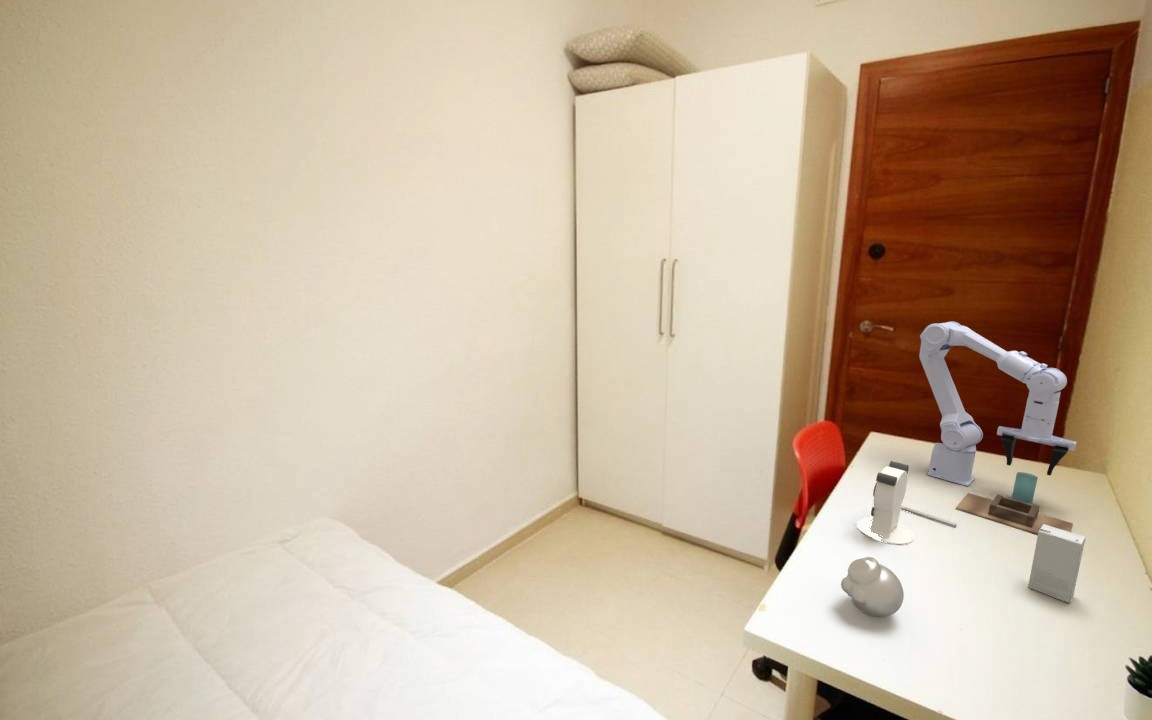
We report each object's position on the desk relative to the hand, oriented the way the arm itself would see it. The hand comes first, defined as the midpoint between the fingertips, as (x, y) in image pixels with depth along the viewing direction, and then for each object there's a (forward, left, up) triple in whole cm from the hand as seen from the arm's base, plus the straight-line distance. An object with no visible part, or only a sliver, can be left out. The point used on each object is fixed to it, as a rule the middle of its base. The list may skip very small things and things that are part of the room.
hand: (1028, 469), depth 128 cm
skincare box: (+10, -42, -9) cm, 44 cm away
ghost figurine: (-10, -73, -9) cm, 75 cm away
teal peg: (0, 0, -9) cm, 9 cm away
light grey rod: (-14, -28, -9) cm, 33 cm away
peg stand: (0, -12, -9) cm, 15 cm away
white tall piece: (-18, -42, -9) cm, 47 cm away
